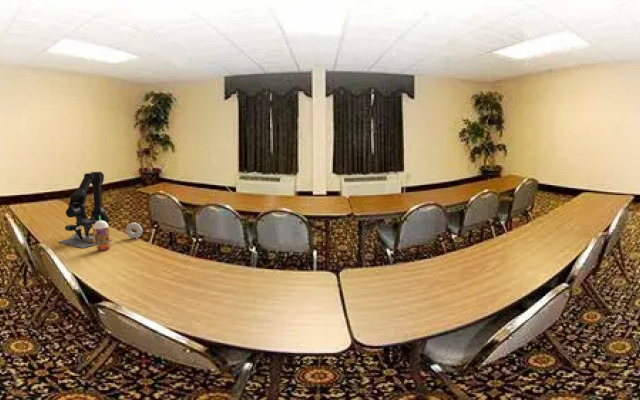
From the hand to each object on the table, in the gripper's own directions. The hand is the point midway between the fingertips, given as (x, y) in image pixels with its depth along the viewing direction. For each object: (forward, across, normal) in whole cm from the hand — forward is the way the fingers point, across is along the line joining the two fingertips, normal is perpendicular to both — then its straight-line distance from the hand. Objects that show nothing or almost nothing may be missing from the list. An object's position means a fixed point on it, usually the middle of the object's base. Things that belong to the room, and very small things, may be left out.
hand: (84, 238), depth 297 cm
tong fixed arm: (+1, 0, -1) cm, 2 cm away
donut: (+2, +19, -24) cm, 30 cm away
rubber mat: (+2, -1, -2) cm, 3 cm away
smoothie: (+2, -5, -29) cm, 29 cm away
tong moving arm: (+1, -1, -3) cm, 4 cm away
